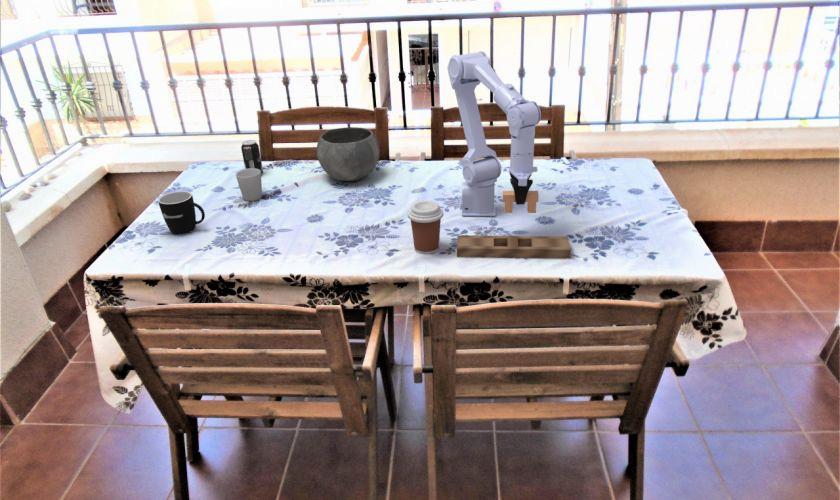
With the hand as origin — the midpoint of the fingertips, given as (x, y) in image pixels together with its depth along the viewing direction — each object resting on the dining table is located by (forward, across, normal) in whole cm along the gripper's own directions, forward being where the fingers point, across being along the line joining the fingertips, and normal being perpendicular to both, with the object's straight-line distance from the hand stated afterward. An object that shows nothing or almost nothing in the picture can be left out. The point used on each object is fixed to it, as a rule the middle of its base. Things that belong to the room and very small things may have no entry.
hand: (519, 201), depth 156 cm
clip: (+3, 0, 0) cm, 3 cm away
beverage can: (+10, +42, +88) cm, 98 cm away
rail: (+9, -10, +2) cm, 14 cm away
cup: (+10, +24, +82) cm, 86 cm away
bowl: (+10, +40, +54) cm, 68 cm away
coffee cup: (+10, -9, +24) cm, 27 cm away
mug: (+10, 0, +93) cm, 93 cm away
